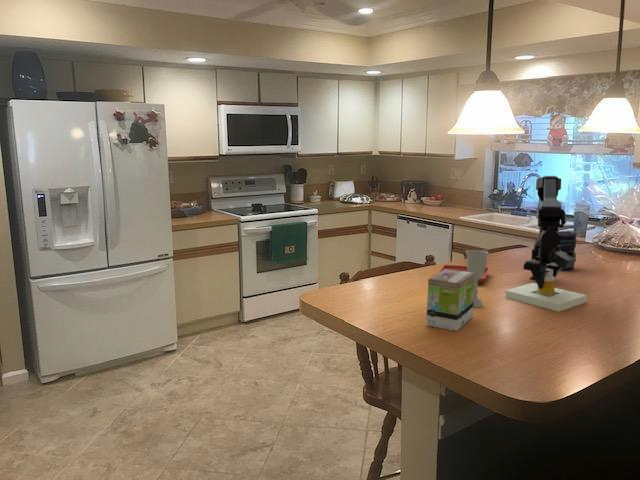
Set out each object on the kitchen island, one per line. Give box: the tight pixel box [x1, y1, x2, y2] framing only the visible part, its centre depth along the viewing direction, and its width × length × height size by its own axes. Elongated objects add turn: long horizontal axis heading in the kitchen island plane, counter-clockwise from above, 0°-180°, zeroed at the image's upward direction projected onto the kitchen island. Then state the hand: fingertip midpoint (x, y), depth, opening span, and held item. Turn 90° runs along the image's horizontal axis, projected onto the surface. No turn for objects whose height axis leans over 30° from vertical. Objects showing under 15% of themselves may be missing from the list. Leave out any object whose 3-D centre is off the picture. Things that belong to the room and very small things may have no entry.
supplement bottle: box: [537, 268, 556, 297], centre depth 183 cm, size 5×5×10 cm
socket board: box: [504, 282, 587, 313], centre depth 184 cm, size 20×16×2 cm
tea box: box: [425, 269, 475, 332], centre depth 163 cm, size 15×10×15 cm, turn 148°
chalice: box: [465, 249, 489, 308], centre depth 178 cm, size 7×7×18 cm
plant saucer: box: [438, 264, 490, 285], centre depth 213 cm, size 18×18×3 cm
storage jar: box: [558, 230, 577, 272], centre depth 225 cm, size 10×10×15 cm
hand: (545, 287), depth 183 cm, fingers closed on supplement bottle, 5 cm apart
